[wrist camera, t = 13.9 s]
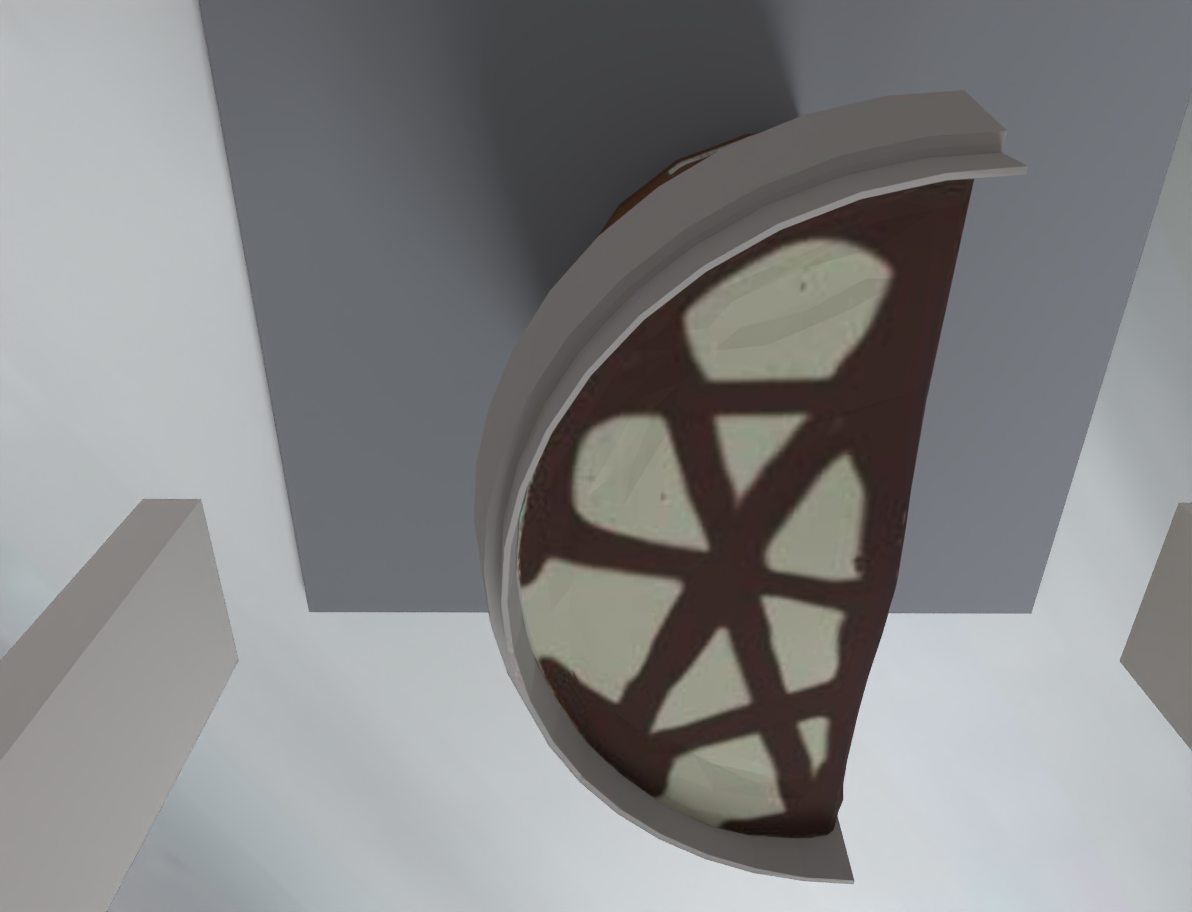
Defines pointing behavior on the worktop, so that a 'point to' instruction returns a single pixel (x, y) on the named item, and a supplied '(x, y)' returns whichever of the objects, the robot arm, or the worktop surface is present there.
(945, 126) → the food container
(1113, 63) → the mat
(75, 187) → the worktop surface
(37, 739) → the robot arm
